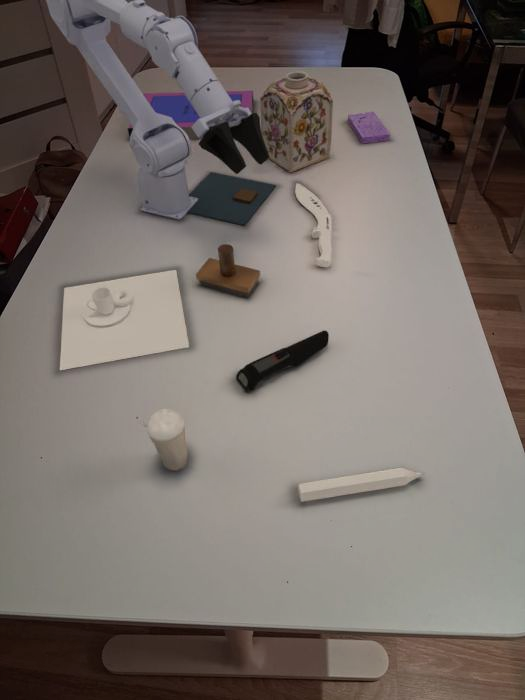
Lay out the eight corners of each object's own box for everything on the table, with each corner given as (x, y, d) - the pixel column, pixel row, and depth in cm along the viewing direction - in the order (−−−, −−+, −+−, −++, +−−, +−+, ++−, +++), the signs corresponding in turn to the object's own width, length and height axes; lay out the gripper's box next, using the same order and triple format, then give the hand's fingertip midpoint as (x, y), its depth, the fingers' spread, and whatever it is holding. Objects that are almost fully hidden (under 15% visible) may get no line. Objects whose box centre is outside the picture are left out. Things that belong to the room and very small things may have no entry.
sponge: (373, 118, 137) (374, 111, 136) (389, 140, 129) (390, 133, 127) (346, 121, 137) (347, 114, 135) (361, 144, 128) (362, 136, 127)
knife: (295, 179, 117) (331, 179, 116) (295, 186, 118) (331, 186, 117) (288, 260, 96) (332, 261, 95) (288, 268, 97) (331, 268, 96)
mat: (175, 210, 112) (174, 208, 111) (210, 173, 121) (210, 171, 121) (244, 226, 107) (244, 224, 106) (276, 186, 116) (276, 184, 116)
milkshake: (152, 447, 72) (137, 402, 65) (192, 444, 72) (182, 398, 65) (150, 477, 69) (134, 433, 62) (192, 473, 69) (181, 429, 62)
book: (249, 125, 130) (127, 128, 132) (250, 137, 133) (130, 140, 134) (253, 90, 145) (142, 93, 146) (253, 101, 147) (145, 104, 148)
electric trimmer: (333, 352, 83) (335, 337, 81) (247, 395, 78) (246, 380, 75) (319, 337, 85) (320, 323, 83) (234, 378, 80) (233, 364, 78)
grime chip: (232, 200, 112) (232, 197, 112) (241, 191, 115) (240, 187, 114) (250, 204, 111) (250, 201, 111) (258, 194, 114) (257, 191, 113)
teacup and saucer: (134, 291, 94) (129, 273, 91) (136, 322, 89) (131, 303, 86) (83, 300, 93) (76, 281, 90) (83, 331, 88) (75, 313, 85)
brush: (197, 285, 95) (191, 250, 89) (210, 269, 98) (206, 234, 92) (248, 299, 92) (246, 264, 86) (260, 282, 95) (259, 246, 89)
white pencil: (423, 481, 68) (299, 501, 67) (419, 464, 69) (296, 483, 67) (430, 481, 66) (302, 502, 64) (426, 463, 66) (299, 484, 65)
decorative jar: (331, 158, 124) (336, 76, 111) (290, 174, 120) (291, 91, 107) (299, 139, 131) (301, 60, 118) (260, 154, 127) (257, 73, 113)
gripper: (193, 79, 78) (246, 159, 80) (244, 72, 89) (290, 143, 90) (166, 110, 83) (217, 186, 84) (218, 100, 93) (262, 167, 95)
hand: (253, 165), depth 88 cm, fingers open, 7 cm apart
